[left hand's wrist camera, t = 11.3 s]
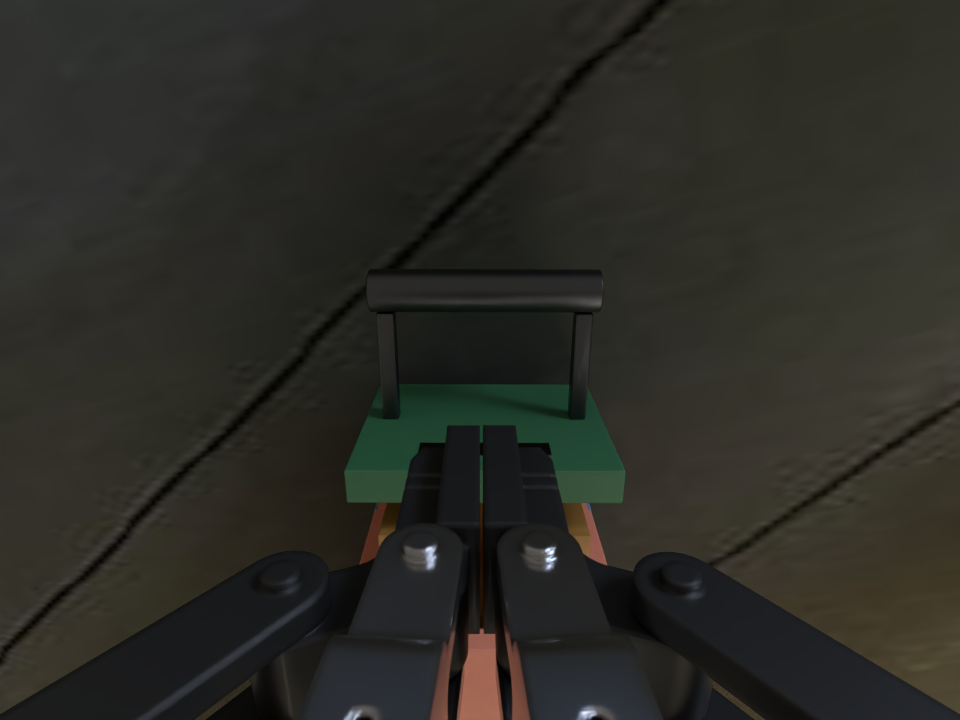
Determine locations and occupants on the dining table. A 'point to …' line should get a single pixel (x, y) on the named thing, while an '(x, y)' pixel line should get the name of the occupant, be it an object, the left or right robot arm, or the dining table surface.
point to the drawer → (485, 392)
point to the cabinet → (478, 635)
